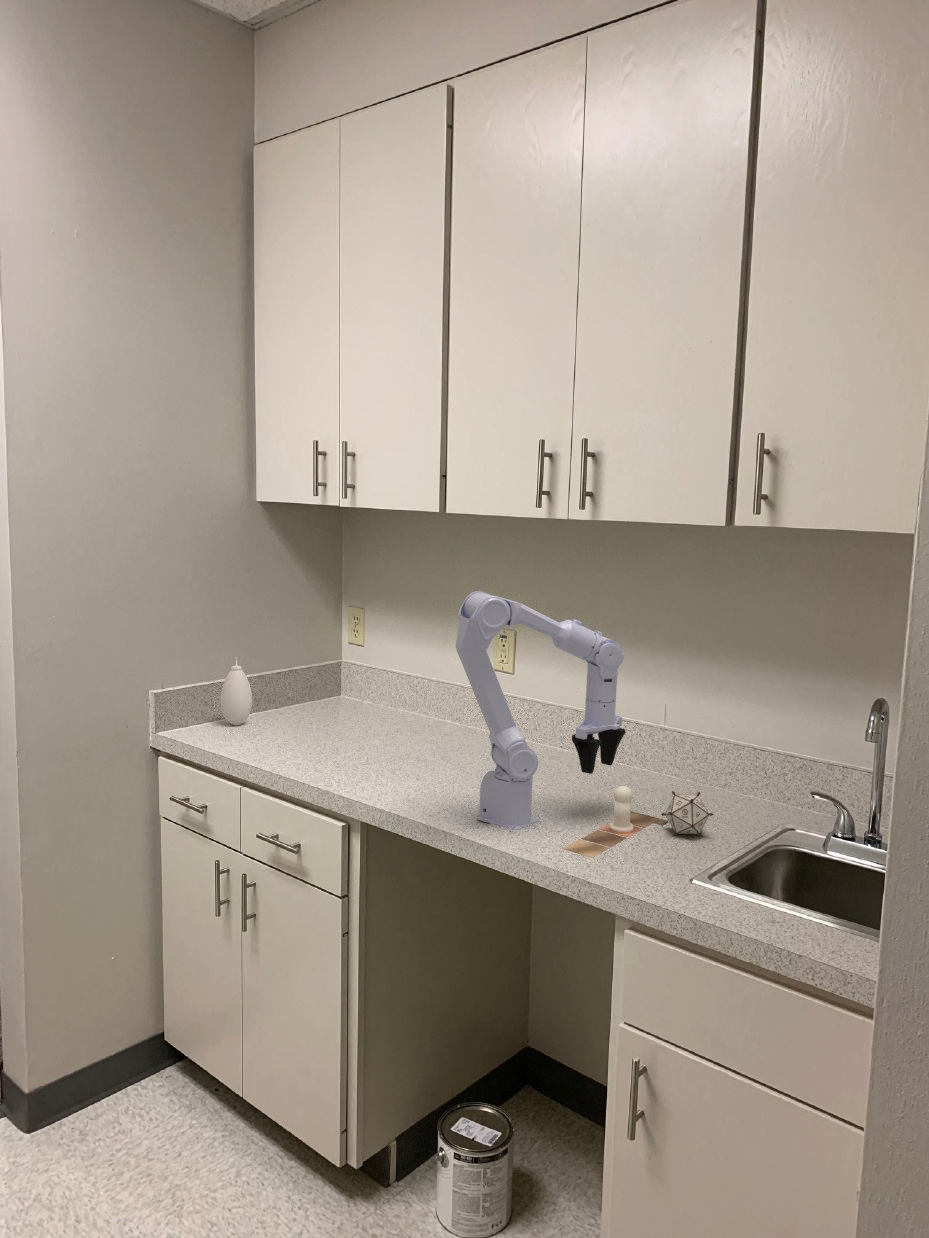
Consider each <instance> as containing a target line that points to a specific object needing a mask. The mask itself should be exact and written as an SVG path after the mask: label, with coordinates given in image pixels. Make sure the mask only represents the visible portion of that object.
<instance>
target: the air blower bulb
mask: <svg viewBox="0 0 929 1238" xmlns="http://www.w3.org/2000/svg"><path fill="white" fill-rule="evenodd" d="M230 669H231V670H229V672H228V673H227V674H226V676H225V679H224V682H223V683H222V688H221V691H220V710H221V713H222V715H223V717H224V719H225V720H226V721H228V724H230V725H233V726H240V725H242V724H244V721H246V720H247V719H248V718H249V716H250V714H251V712H252V708H253V707H252V706H253V693H252V689H251V688H252V687H251V684H250V682H249V679H248V677H247V675H246V673H245V672H244V670H243V668H242V666H241V665H238V656H235V665H232V666H231V667H230Z"/></svg>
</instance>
